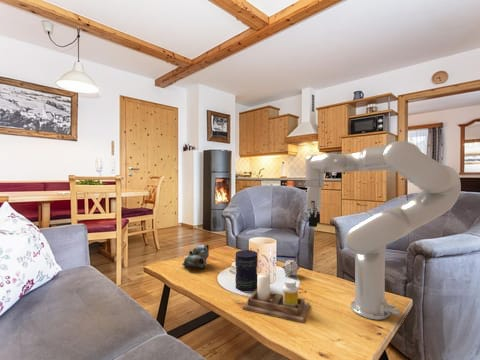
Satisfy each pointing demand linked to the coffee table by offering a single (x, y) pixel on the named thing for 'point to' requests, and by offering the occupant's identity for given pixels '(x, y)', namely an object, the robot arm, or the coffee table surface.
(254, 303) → the walnut caddy
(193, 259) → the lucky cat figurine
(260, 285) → the pillar candle
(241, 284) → the storage jar
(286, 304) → the supplement bottle
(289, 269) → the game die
